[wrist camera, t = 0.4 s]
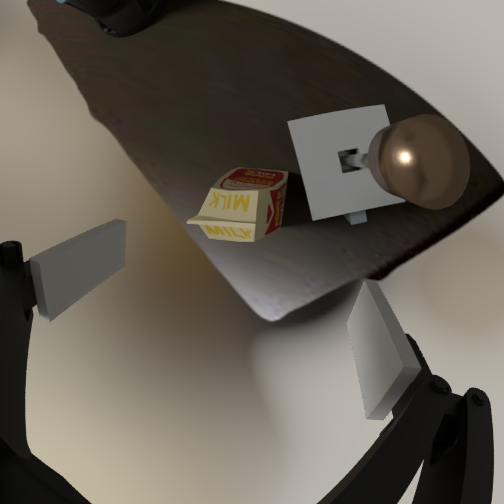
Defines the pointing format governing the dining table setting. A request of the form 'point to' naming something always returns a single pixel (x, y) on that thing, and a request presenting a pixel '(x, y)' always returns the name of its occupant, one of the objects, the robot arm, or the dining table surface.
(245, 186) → the milk carton
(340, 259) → the dining table surface
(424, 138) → the plunger
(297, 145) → the grey box with hole
